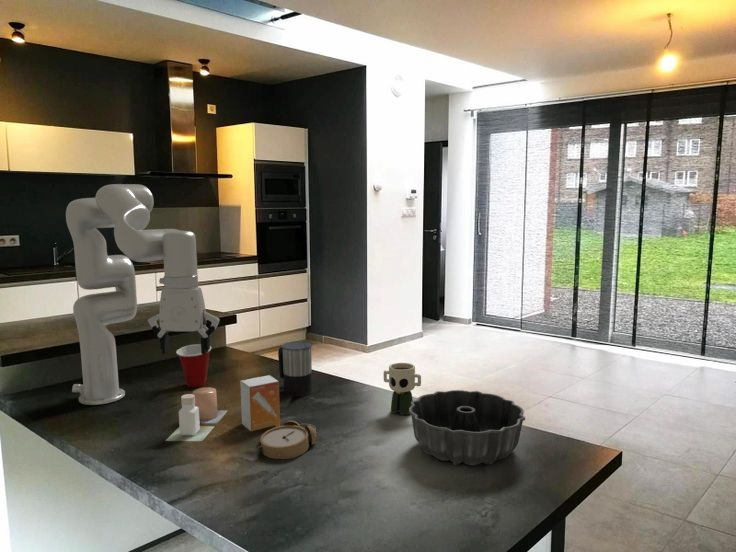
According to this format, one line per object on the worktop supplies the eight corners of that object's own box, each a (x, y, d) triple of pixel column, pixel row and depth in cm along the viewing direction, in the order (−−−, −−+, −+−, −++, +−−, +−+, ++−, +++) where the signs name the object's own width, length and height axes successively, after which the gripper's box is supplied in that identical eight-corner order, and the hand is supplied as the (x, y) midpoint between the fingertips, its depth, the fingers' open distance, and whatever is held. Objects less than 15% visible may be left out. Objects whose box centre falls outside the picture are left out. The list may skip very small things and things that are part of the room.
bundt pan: (545, 448, 135) (546, 407, 134) (481, 489, 117) (482, 442, 116) (453, 419, 154) (454, 382, 153) (386, 450, 135) (385, 409, 134)
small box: (251, 437, 144) (248, 386, 142) (241, 429, 149) (239, 380, 148) (281, 429, 148) (279, 380, 147) (270, 422, 154) (269, 374, 152)
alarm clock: (249, 440, 135) (292, 410, 147) (252, 459, 137) (296, 427, 148) (283, 452, 129) (326, 420, 140) (287, 472, 130) (329, 438, 141)
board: (153, 448, 139) (153, 442, 138) (188, 414, 160) (187, 408, 160) (211, 449, 138) (211, 443, 137) (238, 414, 159) (237, 409, 159)
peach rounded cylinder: (190, 420, 151) (189, 394, 150) (198, 412, 157) (197, 387, 156) (213, 421, 151) (211, 395, 150) (220, 412, 157) (219, 387, 156)
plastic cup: (170, 388, 183) (168, 351, 181) (193, 378, 192) (191, 342, 191) (198, 392, 178) (196, 354, 177) (220, 381, 188) (218, 345, 187)
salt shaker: (185, 429, 145) (183, 393, 144) (200, 430, 145) (198, 393, 144) (179, 436, 142) (176, 398, 140) (195, 436, 141) (192, 398, 140)
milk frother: (319, 390, 178) (318, 343, 176) (285, 406, 165) (283, 355, 163) (284, 382, 186) (282, 337, 184) (249, 397, 173) (247, 349, 171)
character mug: (378, 413, 158) (378, 367, 156) (388, 405, 165) (388, 360, 163) (416, 419, 154) (416, 372, 152) (425, 410, 160) (425, 364, 158)
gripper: (139, 285, 135) (143, 356, 137) (212, 285, 134) (215, 357, 136) (153, 280, 142) (157, 348, 145) (222, 280, 141) (225, 348, 144)
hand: (185, 352), depth 141 cm, fingers open, 9 cm apart
